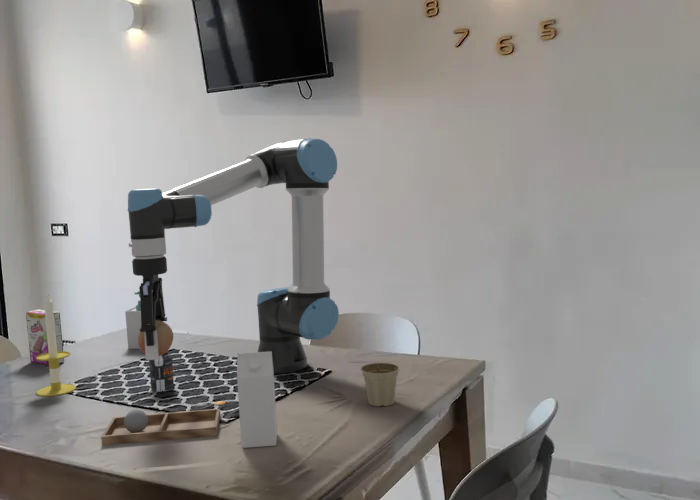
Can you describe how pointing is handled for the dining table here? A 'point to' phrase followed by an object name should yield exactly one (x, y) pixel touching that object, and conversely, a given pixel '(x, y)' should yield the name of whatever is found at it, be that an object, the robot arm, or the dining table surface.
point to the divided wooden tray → (165, 427)
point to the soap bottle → (133, 324)
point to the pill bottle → (161, 373)
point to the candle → (53, 357)
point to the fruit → (159, 337)
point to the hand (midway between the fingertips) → (156, 354)
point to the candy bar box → (42, 334)
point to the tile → (207, 403)
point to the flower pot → (380, 382)
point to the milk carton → (256, 399)
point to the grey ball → (135, 421)
